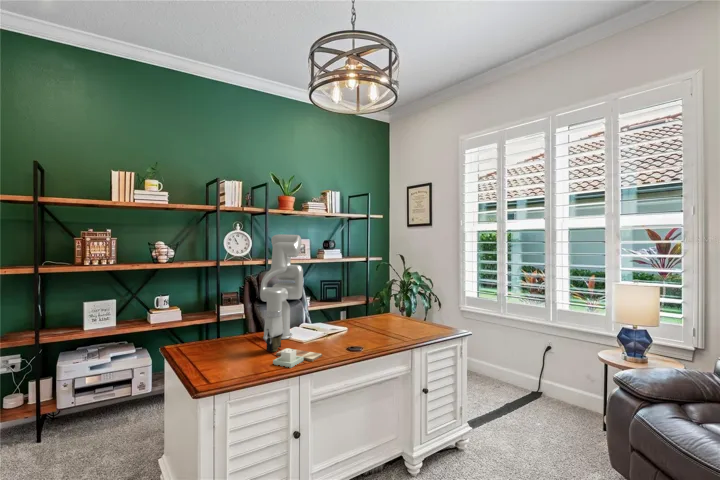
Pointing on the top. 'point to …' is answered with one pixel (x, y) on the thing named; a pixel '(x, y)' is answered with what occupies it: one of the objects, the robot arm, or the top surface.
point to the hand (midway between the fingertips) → (273, 348)
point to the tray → (288, 364)
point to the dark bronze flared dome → (275, 343)
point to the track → (304, 354)
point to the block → (288, 355)
